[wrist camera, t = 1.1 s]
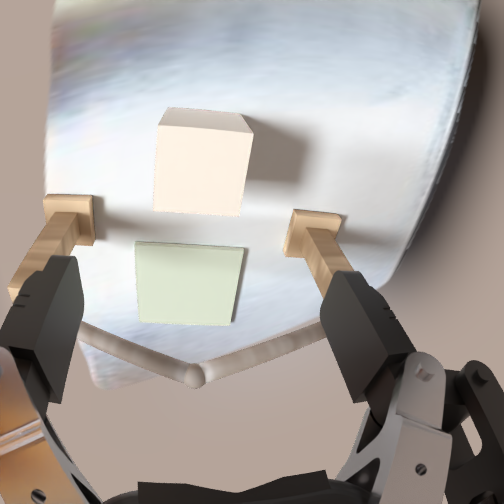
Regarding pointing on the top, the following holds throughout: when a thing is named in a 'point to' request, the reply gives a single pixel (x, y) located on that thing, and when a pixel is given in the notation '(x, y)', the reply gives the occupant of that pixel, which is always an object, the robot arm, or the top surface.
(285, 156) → the top surface
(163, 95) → the top surface
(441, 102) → the top surface
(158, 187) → the cream block
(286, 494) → the robot arm
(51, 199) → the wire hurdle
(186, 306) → the mat
